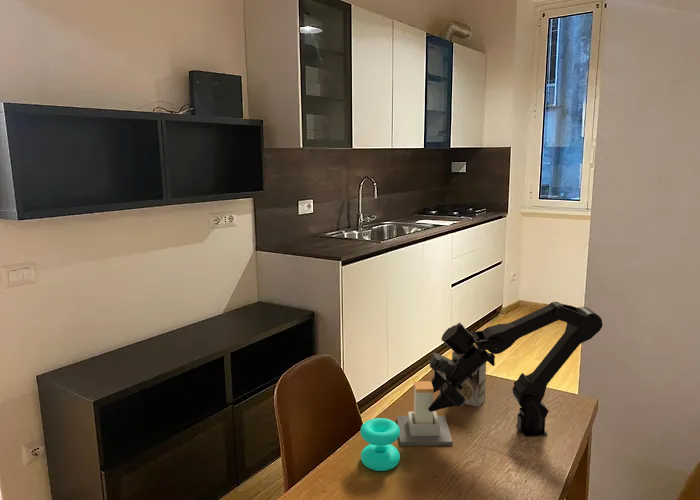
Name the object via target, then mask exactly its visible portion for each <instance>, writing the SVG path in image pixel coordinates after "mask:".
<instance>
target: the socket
mask: <svg viewBox="0 0 700 500" xmlns="http://www.w3.org/2000/svg"><path fill="white" fill-rule="evenodd" d="M396 424H397V425H398V426H399V428H400V435H399V437H398V439H399V446H453V443H454V442H453V439H452V435H451V432H450V428H449V425H448V422H447V419H446V415H438V413H437V410H436V411H433V424H414V411H408V412H407V415H396Z"/></svg>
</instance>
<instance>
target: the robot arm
mask: <svg viewBox="0 0 700 500" xmlns="http://www.w3.org/2000/svg"><path fill="white" fill-rule="evenodd" d="M557 321H562V322H564V323H566V326H565V330H564V332H563V333H562V335H561V337H560V338H559V339H558V340H557V342H555V344H554V345H553V346H552V348H551V349H550V350H549V352H548V353H547V354H546V355H545V356H544V357H543V359H542V361H541V362H540V363H539V364H537V365H538V366H537V367H536V368H535V369H534V370H533V371H532V372H531V373H529V374H527V375H526V374H525V373H523V372H522V373H521V374H520V375H519V377H518V378H517V380H515V381H513V383H512V384H513V387H512V389H511V390H512V394H513V396H514V399H515V400H516V402H517V403H518V405H519V406H520V407H519V412H518V413H517V421H516V424H515V426H516V427H517V429H518V430H519V432H521V433H522V435H523V436H524V437H527V438H528V437H530V438H531V437H543V436H544V437H545V436H548V432H547V431H546V418H547V416H548V414H549V409H548V408H547V406H546V405H545V403H544V402H543V399H544V398H545V393H546V390H547V386H548V384H549V383H550V382H551V381H552V380H553V378H554V377H555V375H556V374H557V373H558V372H559V371H560V369H561V368H562V367H563V366H564V365H565V364H566V362H567V361H568V359H569V358H570V357H571V356H572V355H573V353H574V352H575V351H576V350H577V349H578V347H580V345H581V344H583V343H584V342H587V341H590V340H591V339H592V338H594V337H595V335H597V334H598V333H600V331H601V330H602V328H603V320H602V317H601V316H600V315H599V314H597V313H596V312H595V311H593V310H591V309H590V307H587V306H579V307H576V306H573V305H571V304H564V303H560V302H559V301H551V302H550V303H548V304H547V305H545V306H542V307H541V308H538V309H536V310H535V311H532V312H531V313H528V314H526V315H524V316H521V317H519V318H517V319H515V320H513V321H510V322H506V323H498V324H494V325H491V326H487V327H486V328H484V329H482V330H477V331H469V330H468V329H466V327H464V324H462V323H461V322H458V323H457V324H454V325H452V326H451V327H448V328H447V329H446V330H445V331H444V332H443V334H442V337H441V341H442V342H443V343H444V344H445V345H446V346H448V348H450V349H451V350H452V351H453V352H455V353H456V354H461V356H460V357H459V358H457V357H454V358H453V359H452V358H451V359H450V358H448V357H447V356H445V355H441V353H440V354H439V353H437V352H433V353H432V355H431V356H430V359H429V361H428V364H429V367H430V369H432V370H433V377H432V378H431V380H430V381H431V382H432V385H433V389H434V392H433V394H434V393H436V392H438V391H439V394H438V396H436V398H435V399H433V403H432V404H431V405H430V407H429V408H428V410H429V411H430V412H432V411H436V412H437V411H439V410H443V409H446V408H452V407H455V408H456V407H458V408H460V407H462V405H464V404H465V397H464V395H463V392H462V391H461V389H462V388H463V386H462V384H463V383H464V382H465V381H467V380H468V379H469V378H470V379H471V380H472V379H473V378H474V376H473V374H474V373H475V372H476V371H477V370H478V369H479V368H481V367H482V366H483V365H484V364H485V363H486V364H487V362H488V363H489V364H490V365H491V366H493V367H494V366H495V364H496V363H495V360H496V359H495V358H496V355H498V354H502V353H504V352H505V351H506V350H508V349H509V348H510V347H512V346H513V345H514V344H515V343H516V341H518V340H519V339H521V338H522V337H523V338H524V337H525V336H527V335H529V334H532V333H533V332H536V331H538V330H540V329H543V328H545V327H546V326H549V325H551V324H553V323H555V322H557ZM457 387H458V388H459V389H458V388H457Z"/></svg>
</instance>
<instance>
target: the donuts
mask: <svg viewBox="0 0 700 500" xmlns="http://www.w3.org/2000/svg"><path fill="white" fill-rule="evenodd" d="M359 432H360V436H361V438H362V439H363V440H364V441H365V442H366V443H368V445H366V446H365V447H364V448H363V449H362V451H361V453H360V459H361V463H362V464H363V465H364V466H365V467H366V468H367V469H370V470H372V471H377V472H384V471H390V470H392V469H394V468H395V467H396V466H398V464H399V463H400V460H401V455H400V452H399V450H398V449H397V447H396V446H394V445H393V443H394V442H396V441H398V439H399V435H400V428H399V426H398V424H397V422H395V421H394V420H391V419H389V418H383V417H377V418H371V419H368V420H366V421H365V422H364V423H363V424H362V425H361V427H360V431H359Z"/></svg>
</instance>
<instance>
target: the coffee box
mask: <svg viewBox="0 0 700 500" xmlns="http://www.w3.org/2000/svg"><path fill="white" fill-rule="evenodd" d="M460 356H461V354H456V353H455V352H454V351H453V352H452V353H451V360H452V359H453V358H454V357H457V358H459V357H460ZM486 366H487V362H486V363H485V364H484V365H483V366H482V367H481V368H479V369H478V370H477V371H476V372H475V373H474V374H473V376H474V378H473V379H472V380H471V379H470V378H469V379H468V380H467V381H465V382H464V383H463V384H462V386H463V388H462V389H461V391H462V392H463V395H464V397H465V403H464V404H465V405H469V406H474V407H478V408H480V407H481V405H482V404H483V403H484V402H485V400H486V376H487V375H486V373H487V367H486ZM457 388H458V387H457ZM458 389H459V388H458Z"/></svg>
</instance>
